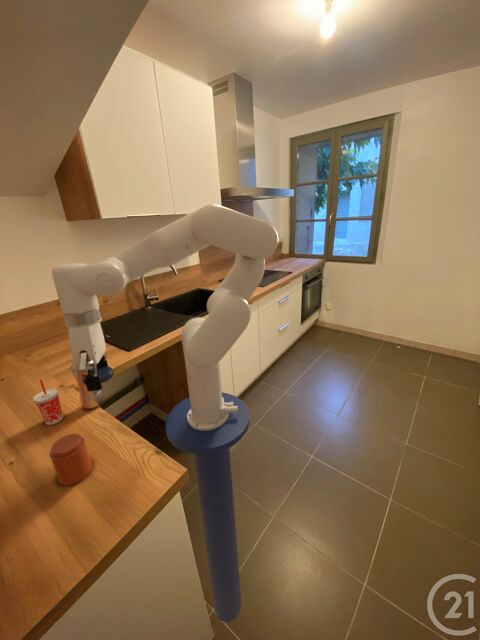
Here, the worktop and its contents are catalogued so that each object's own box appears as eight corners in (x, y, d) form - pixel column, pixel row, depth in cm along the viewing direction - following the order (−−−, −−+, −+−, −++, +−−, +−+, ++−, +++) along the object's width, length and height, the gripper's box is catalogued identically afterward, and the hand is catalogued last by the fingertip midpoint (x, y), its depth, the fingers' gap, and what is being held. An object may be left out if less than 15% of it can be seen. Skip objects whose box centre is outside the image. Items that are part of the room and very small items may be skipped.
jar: (97, 459, 65) (89, 431, 62) (83, 484, 59) (73, 454, 56) (69, 461, 65) (60, 433, 62) (52, 486, 58) (40, 456, 56)
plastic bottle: (80, 405, 86) (64, 350, 80) (102, 396, 90) (88, 343, 84) (84, 414, 82) (67, 357, 75) (107, 405, 86) (93, 349, 79)
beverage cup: (37, 426, 78) (21, 385, 73) (53, 412, 83) (40, 374, 79) (55, 427, 77) (41, 386, 72) (70, 413, 82) (58, 374, 78)
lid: (76, 383, 65) (74, 378, 65) (98, 369, 71) (96, 364, 71) (99, 387, 63) (97, 382, 63) (119, 372, 69) (118, 367, 69)
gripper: (78, 308, 69) (93, 367, 75) (49, 331, 53) (71, 404, 59) (108, 305, 71) (121, 364, 76) (89, 327, 55) (107, 398, 60)
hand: (99, 381), depth 68 cm, fingers closed on lid, 7 cm apart
